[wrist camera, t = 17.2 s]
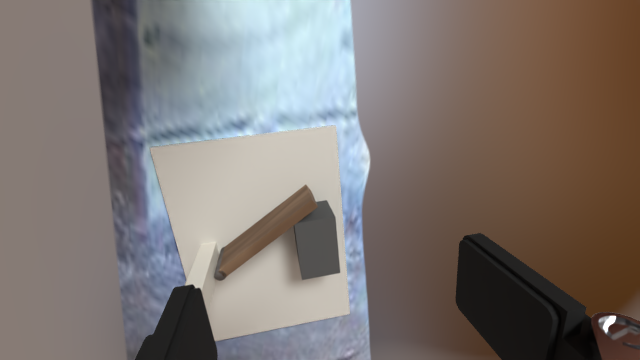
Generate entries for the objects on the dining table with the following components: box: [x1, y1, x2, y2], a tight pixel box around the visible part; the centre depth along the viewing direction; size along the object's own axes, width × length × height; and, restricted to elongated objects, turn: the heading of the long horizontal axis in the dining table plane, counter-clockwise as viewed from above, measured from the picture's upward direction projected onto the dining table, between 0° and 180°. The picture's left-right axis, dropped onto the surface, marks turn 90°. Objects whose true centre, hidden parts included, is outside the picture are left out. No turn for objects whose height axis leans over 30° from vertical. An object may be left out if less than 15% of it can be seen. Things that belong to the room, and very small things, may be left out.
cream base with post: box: [150, 125, 350, 341], centre depth 36 cm, size 30×22×15 cm
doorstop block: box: [293, 200, 340, 280], centre depth 40 cm, size 8×5×6 cm, turn 6°
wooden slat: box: [214, 185, 318, 281], centre depth 38 cm, size 1×15×6 cm, turn 127°
